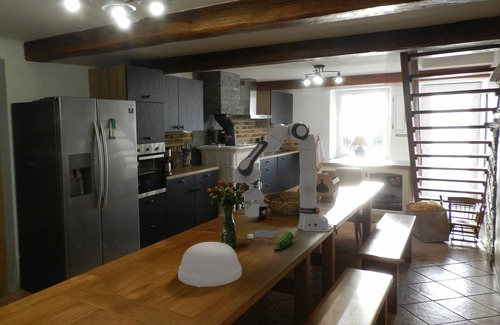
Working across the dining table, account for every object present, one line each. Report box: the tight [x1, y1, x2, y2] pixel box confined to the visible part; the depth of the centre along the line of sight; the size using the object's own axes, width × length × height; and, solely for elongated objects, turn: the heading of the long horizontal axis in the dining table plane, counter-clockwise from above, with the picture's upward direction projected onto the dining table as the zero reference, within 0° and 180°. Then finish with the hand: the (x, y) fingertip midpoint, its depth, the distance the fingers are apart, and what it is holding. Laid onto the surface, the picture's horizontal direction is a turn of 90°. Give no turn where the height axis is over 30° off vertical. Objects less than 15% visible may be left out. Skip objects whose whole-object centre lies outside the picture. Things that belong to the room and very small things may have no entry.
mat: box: [252, 228, 280, 239], centre depth 249 cm, size 14×16×1 cm
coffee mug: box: [257, 203, 269, 221], centre depth 291 cm, size 12×9×10 cm
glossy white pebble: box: [247, 233, 254, 240], centre depth 240 cm, size 4×4×2 cm
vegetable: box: [274, 231, 295, 251], centre depth 224 cm, size 7×7×20 cm
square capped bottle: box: [244, 200, 259, 218], centre depth 240 cm, size 6×6×10 cm
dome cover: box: [177, 241, 243, 288], centre depth 184 cm, size 32×30×14 cm
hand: (252, 208), depth 240 cm, fingers closed on square capped bottle, 6 cm apart
